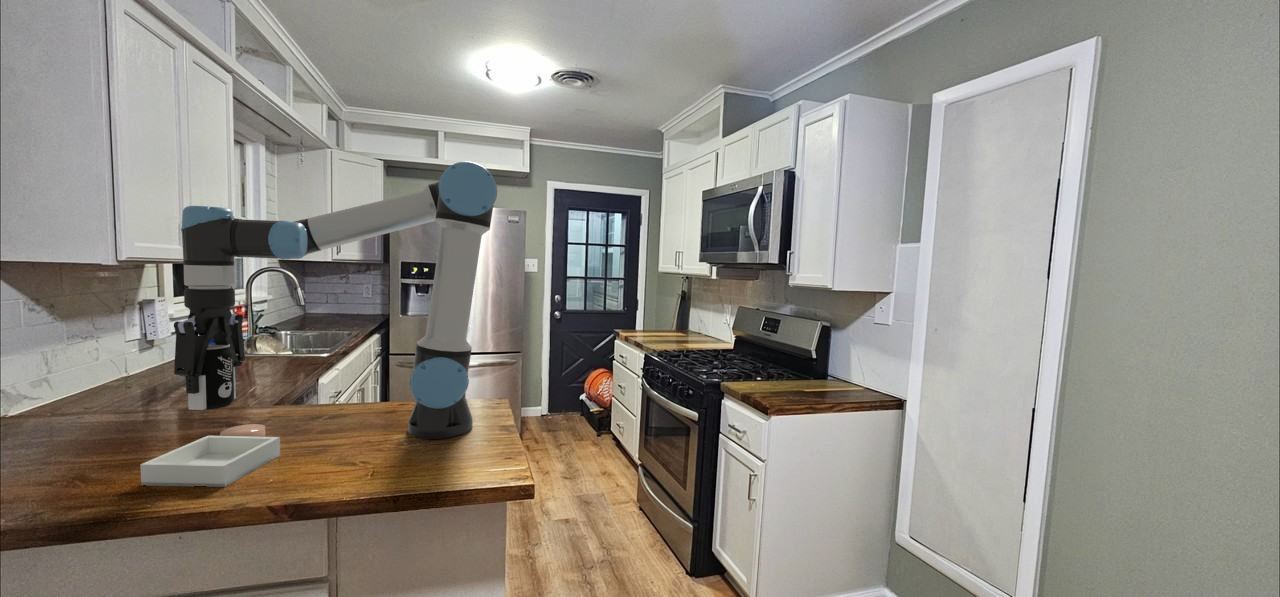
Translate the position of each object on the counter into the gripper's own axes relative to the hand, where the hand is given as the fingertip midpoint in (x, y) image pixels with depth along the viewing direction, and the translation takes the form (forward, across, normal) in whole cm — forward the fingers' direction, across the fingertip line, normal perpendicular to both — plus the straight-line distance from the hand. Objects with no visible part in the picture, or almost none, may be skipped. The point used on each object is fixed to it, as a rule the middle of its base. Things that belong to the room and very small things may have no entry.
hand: (213, 403), depth 99 cm
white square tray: (+13, 0, 0) cm, 13 cm away
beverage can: (+1, 0, 0) cm, 1 cm away
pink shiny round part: (+13, -14, -5) cm, 20 cm away
